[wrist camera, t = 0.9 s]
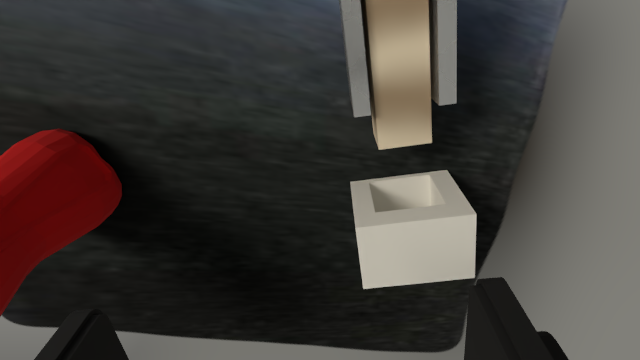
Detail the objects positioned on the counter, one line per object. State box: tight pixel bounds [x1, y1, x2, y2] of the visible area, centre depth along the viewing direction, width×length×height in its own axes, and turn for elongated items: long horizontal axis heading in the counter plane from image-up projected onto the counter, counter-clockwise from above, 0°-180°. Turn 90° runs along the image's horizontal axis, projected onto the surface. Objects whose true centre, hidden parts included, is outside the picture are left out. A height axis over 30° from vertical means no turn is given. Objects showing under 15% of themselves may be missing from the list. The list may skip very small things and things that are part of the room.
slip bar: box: [361, 0, 432, 150], centre depth 24 cm, size 20×4×11 cm, turn 8°
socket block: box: [350, 170, 477, 289], centre depth 34 cm, size 6×9×8 cm, turn 99°
